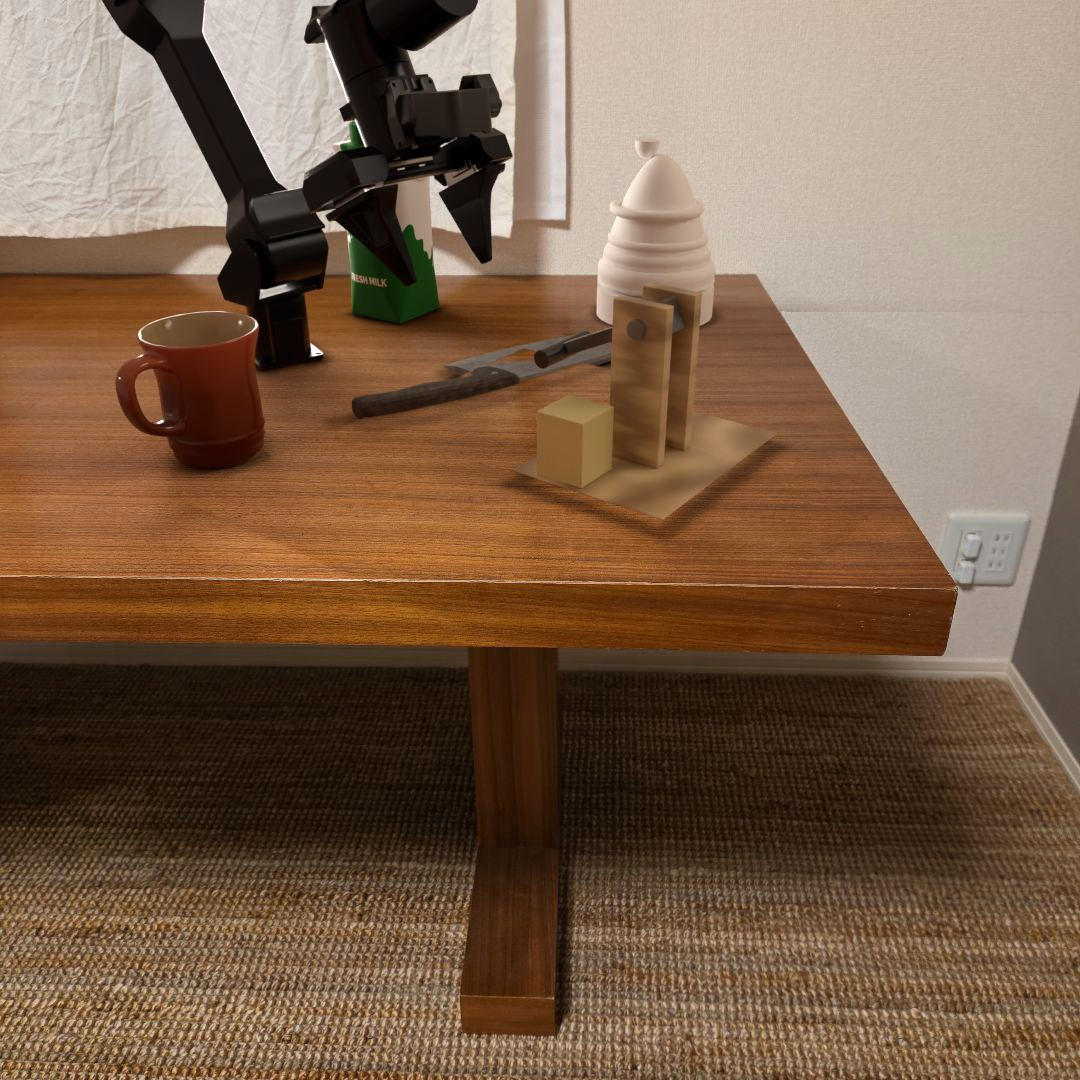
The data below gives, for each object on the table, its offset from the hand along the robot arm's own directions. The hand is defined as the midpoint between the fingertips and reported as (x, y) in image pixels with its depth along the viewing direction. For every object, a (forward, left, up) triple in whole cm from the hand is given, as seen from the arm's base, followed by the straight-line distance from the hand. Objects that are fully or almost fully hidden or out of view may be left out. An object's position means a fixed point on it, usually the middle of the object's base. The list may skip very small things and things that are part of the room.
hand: (451, 273), depth 82 cm
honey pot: (-14, +32, -12) cm, 37 cm away
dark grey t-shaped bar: (+14, +7, -3) cm, 16 cm away
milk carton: (-30, +8, -12) cm, 33 cm away
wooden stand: (+17, +8, -12) cm, 22 cm away
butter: (+17, +1, -11) cm, 21 cm away
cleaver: (-5, +6, -12) cm, 15 cm away
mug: (-2, -21, -12) cm, 25 cm away
